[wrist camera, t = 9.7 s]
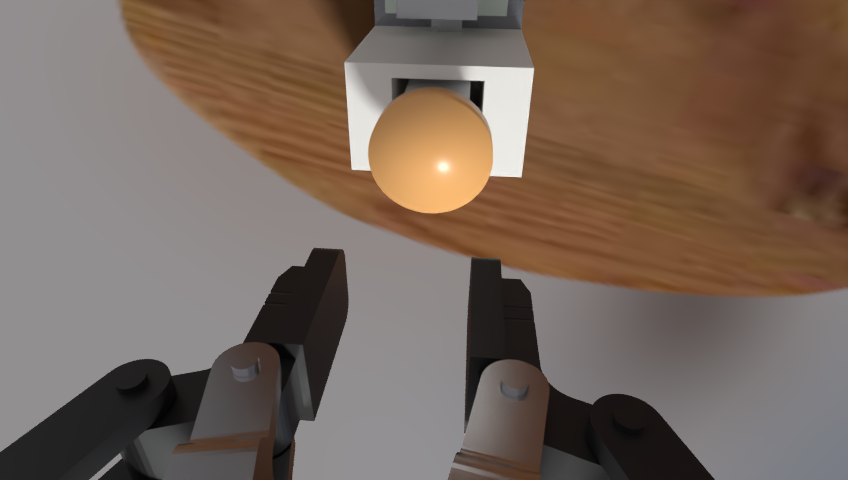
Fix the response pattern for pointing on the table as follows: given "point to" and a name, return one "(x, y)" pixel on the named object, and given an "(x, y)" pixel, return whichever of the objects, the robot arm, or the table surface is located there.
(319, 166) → the table surface
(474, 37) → the cabinet
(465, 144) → the button
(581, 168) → the table surface
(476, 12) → the carriage
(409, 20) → the rail
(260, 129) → the table surface
